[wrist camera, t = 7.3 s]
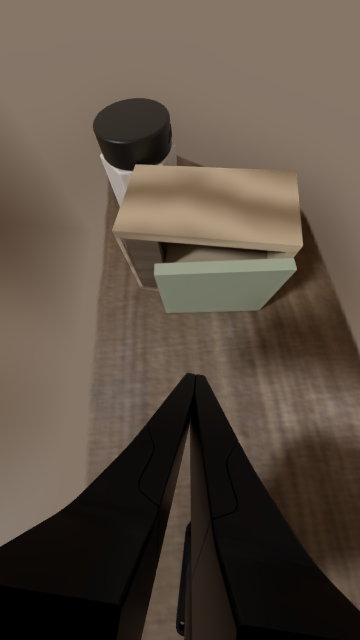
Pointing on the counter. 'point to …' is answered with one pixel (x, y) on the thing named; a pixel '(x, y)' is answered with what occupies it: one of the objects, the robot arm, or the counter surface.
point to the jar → (133, 139)
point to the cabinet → (206, 217)
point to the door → (221, 284)
